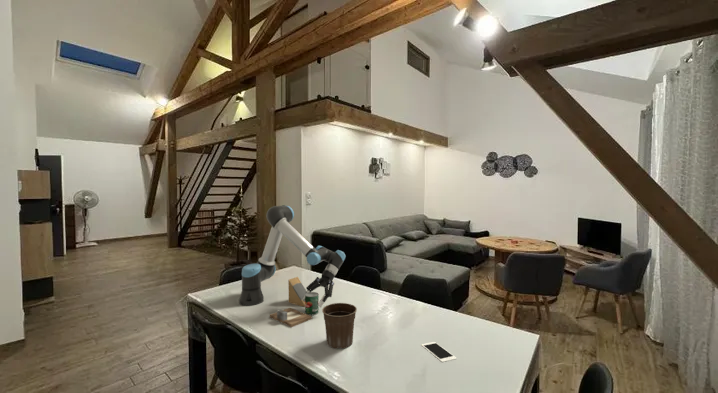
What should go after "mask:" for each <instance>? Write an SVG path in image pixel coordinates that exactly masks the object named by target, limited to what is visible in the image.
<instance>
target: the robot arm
mask: <svg viewBox="0 0 718 393" xmlns="http://www.w3.org/2000/svg"><path fill="white" fill-rule="evenodd" d="M265 216H266V220H267V222H268V224H269V225H270V226H271V228H270V231H269V234H268V237H267V240H266V243H265V246H264V249H263V252H262V255H261V257H258V261H257V262H256V263H250V264H247V265H244V266H243V267H242V268H241V292H240V296H239V298H238V304H239V305H242V306H255V305H259V304H261V303H263V302H264V294H263V291H262V283H261V282H264V281H266V280H269V279H271V277H273V276H274V275H275V273H276V271H277V270H276V268H277V267H276V261H275V259H276V257H277V252H278V250H279V247H280V243H281V240H282V238H283V237H284V238H286V239H287V240H288V241H289V242H290V243H291V244H292V245H293V246H294V247H295V248H296V249H297V250H298V251H299V252H301V254H302V255H303V256H304V257H305V258H306V262H307V264H308V265H310V266H315V265H319V263H322V262H323V261H324V262H326V263H327V265H326V266H325V269H324V270H323V271H322V273H321V277H319V276H316V278H315V279H314V280H313V281H312V282H311V283H309V285H307V286H306V288H305V289H306V291H307V292H306V293H309V292H314V291H315V290H316V289H318V288H320V287H321V288H324V295H322V297H321V299H320V301H318V308H320V309H321V308H322V307H323V305H324V304H325V303H326V302H327V300H328V298H332V295H333V289H334V285H335V282H334V281H333V280H334V279H335V276H336V275H337V273H338V271H339V270H340V268H341V266H342V265H343V263H344V261H345V260H346V257H347V256H346V254H345V252H344V251H342V250H339V249H337V250H336V251H333V250H330V249H328V248H326V247H324V246H322V245H317V246H316V247H315V246H313V245H312V243H310V242H309V241H308V240H307V239H306V238H305V237H304V236H303V235H302V234H300V232H299V231H297V229H296V228H295V227H294V226H293V225H291V224H290V222H292V221H293V219H294V217H295V212H294V210H293V208H292V207H291V206H289V205H285V204H284V205H273V206H271V207H270V208H268V210H267V212H266V215H265ZM302 300H303V301H304V302H305V296H304V298H303V299H302Z"/></svg>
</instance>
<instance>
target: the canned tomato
mask: <svg viewBox="0 0 718 393" xmlns="http://www.w3.org/2000/svg"><path fill="white" fill-rule="evenodd" d="M318 304H319V293H318V292H315V291H311V292H309V293H306V294H305V307H304V313H305V314H307V315H310V316H316V315H318V314H319V306H318Z"/></svg>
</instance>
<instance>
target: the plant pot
mask: <svg viewBox="0 0 718 393" xmlns="http://www.w3.org/2000/svg"><path fill="white" fill-rule="evenodd" d="M321 311H322V312H321V313H322V314H323V320H324V326H325V337H326V345H328V347H329V348H332V349H345V348H346V349H347V348H349V347H350V346H351V345H353V341H354V328H355V320H356V315H357V314H356V313H357V306H355V305H353V304H351V303H346V302H334V303H329V304H328V305H327V304H326V306H324V307H323V308H322V309H321Z"/></svg>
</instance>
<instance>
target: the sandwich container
mask: <svg viewBox="0 0 718 393" xmlns="http://www.w3.org/2000/svg"><path fill="white" fill-rule="evenodd" d="M306 292H307V289H306V288H305V286H304V285H303V283H302V281H301V279H300V278H299V277H298V276H296V277H292V278H289V279H288V303H290V304H291V305H292V304H293V305H296V306H301V307H304V308H305V302H304V301H303V300H302V299H303V298H304V296H305V294H306Z"/></svg>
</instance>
